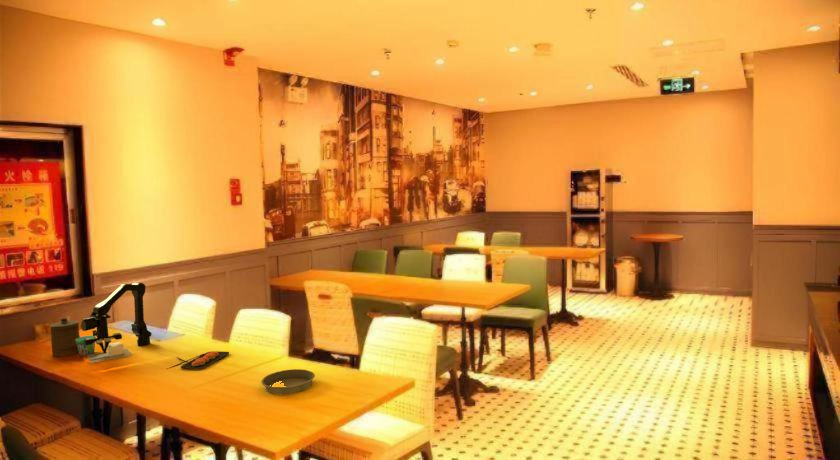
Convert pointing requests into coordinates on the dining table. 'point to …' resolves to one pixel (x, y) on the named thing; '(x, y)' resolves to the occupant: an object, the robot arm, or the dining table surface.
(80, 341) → the snack cup
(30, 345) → the dining table surface
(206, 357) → the sushi plate
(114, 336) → the robot arm
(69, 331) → the dark grey canister
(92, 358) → the base plate
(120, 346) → the cover
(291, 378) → the cake pan
